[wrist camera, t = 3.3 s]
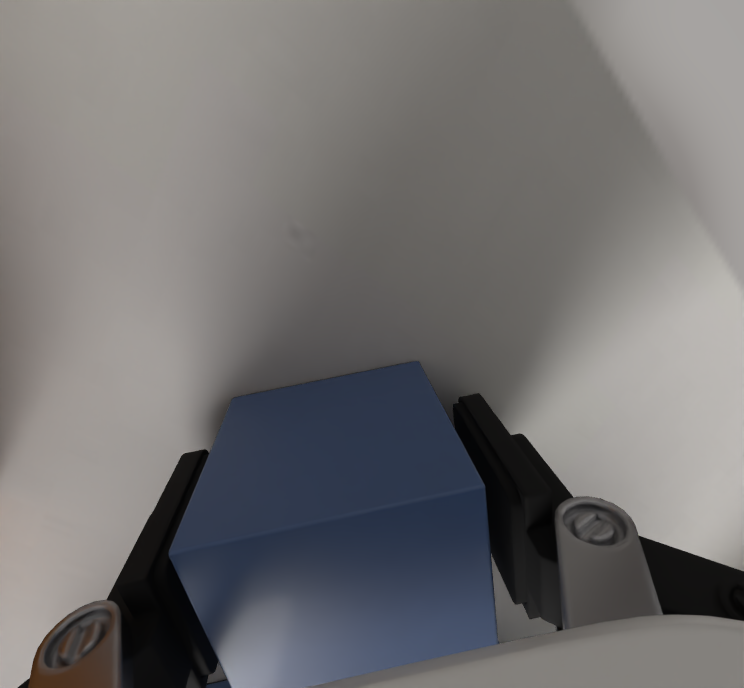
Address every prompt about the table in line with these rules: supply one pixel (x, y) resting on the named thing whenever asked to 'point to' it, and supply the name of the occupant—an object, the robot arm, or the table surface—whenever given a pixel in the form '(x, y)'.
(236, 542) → the blue block
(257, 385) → the table surface
